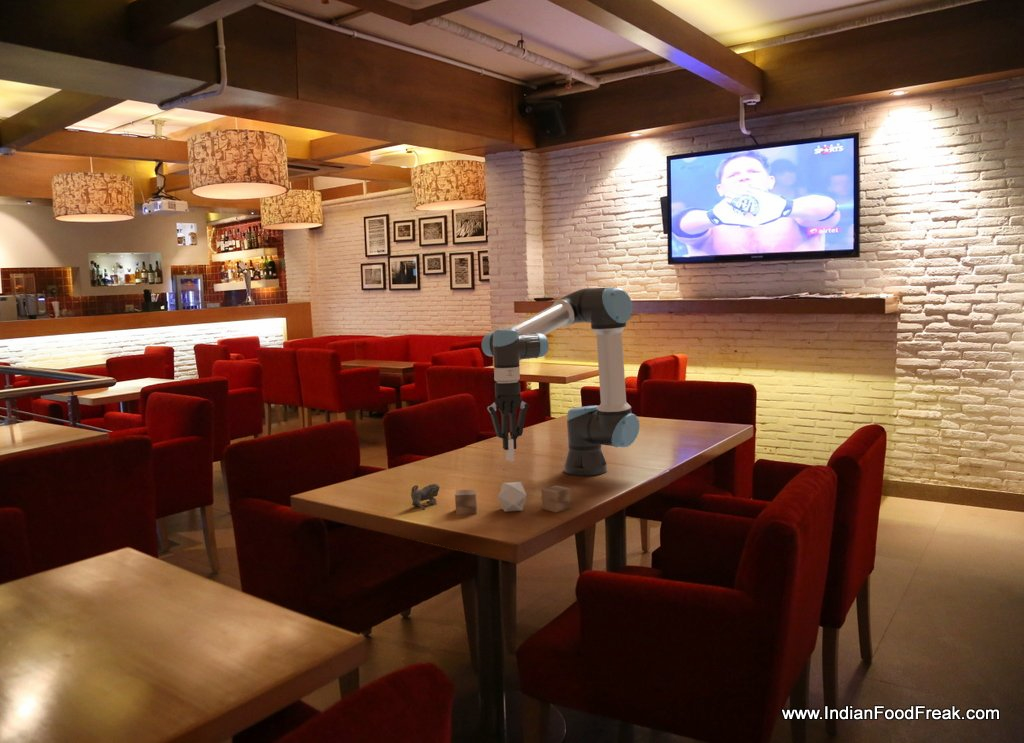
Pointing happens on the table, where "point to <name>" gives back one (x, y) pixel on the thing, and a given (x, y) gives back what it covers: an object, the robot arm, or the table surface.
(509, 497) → the die
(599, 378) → the robot arm
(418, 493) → the dog figurine
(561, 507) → the walnut block
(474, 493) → the walnut block
